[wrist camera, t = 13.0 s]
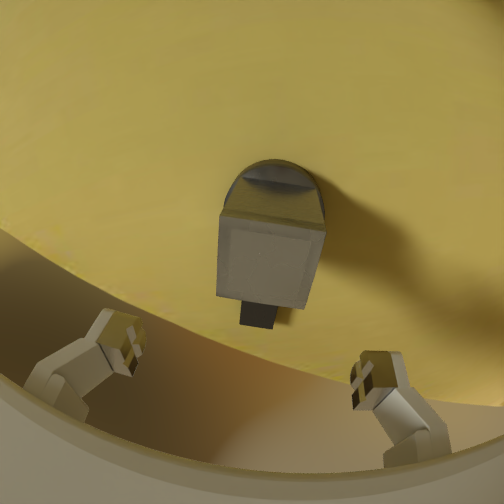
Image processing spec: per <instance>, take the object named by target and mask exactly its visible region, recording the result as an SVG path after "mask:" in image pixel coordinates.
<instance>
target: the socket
mask: <svg viewBox="0 0 504 504" xmlns="http://www.w3.org/2000/svg"><path fill="white" fill-rule="evenodd" d="M326 233H327V232H326V227H325V223H324V219H323V214H322V210H321V206H320V202H319V198H318V194H317V190H316V188H311V187H306V186H300V185H294V184H288V183H281V182H275V181H268V180H261V179H254V178H247V177H240V178H239V180H238V182H237V183H236V185H235V187H234V189H233V191H232V193H231V195H230V197H229V198H228V200H227V202H226V204H225V206H224V208H223V210H222V212H221V214H220V216H219V236H218V258H217V286H216V296H219V297H225V298H231V299H237V300H243V301H249V302H255V303H262V304H268V305H275V306H282V307H289V308H296V309H303V310H304V308H305V305H306V302H307V299H308V296H309V292H310V289H311V286H312V282H313V279H314V276H315V272H316V269H317V265H318V262H319V258H320V255H321V251H322V248H323V244H324V240H325V237H326Z"/></svg>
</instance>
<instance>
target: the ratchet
mask: <svg viewBox="0 0 504 504" xmlns="http://www.w3.org/2000/svg"><path fill="white" fill-rule="evenodd" d="M240 177H247V178H254V179H261V180H268V181H275V182H281V183H288V184H294V185H300V186H306V187H311V188H316V190H317V194H318V198H319V202H320V206H321V210H322V214H323V219H324V217H325V211H324V204H323V201H322V197H321V193H320V190H319V187H318V185H317V183H316V182H315V180H314V179H313V177H312V176H311V175H310V174H309V173H308V172H307V171H306V170H305V169H303V168H302V167H300V166H298V165H296V164H294V163H292V162H289V161H285V160H278V159H269V160H263V161H260V162H256V163H254V164H252V165H250V166H249V167H247V168H246V169H244V170H243V171H242V172H241V173H240V174H239V175H238V176H237V178H236V179H235V181H234V182H233V184H232V186H231V188H230V189H229V191H228V193H227V195H226V198H225V202H224V206H225V204H226V202H227V200H228V198H229V197H230V195H231V193H232V191H233V189H234V187H235V185H236V183H237V182H238V180H239V178H240ZM277 307H278V306H275V305H268V304H262V303H255V302H249V301H243V300H242V304H241V313H240V323H239V324H240V325H246V326H253V327H259V328H266V329H273V325H274V321H275V316H276V312H277Z"/></svg>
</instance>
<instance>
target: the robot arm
mask: <svg viewBox="0 0 504 504" xmlns="http://www.w3.org/2000/svg"><path fill="white" fill-rule="evenodd" d="M142 324H143V323H142V319H141V318H139V317H136V316H132V315H128V314H125V313H121V312H118V311H115V310H111V309H108V308H105V309H103V310H102V311H101V313H100V314H99V316H98V317H97V319H96V321H95V322H94V324H93V325H92V327H91V328H90V330H89V332H88V333H87V335H86V337H85V338H80V339H78V340H77V341H75V342H73V343H71V344H70V345H68V346H66V347H64V348H62V349H61V350H59V351H57V352H56V353H54V354H52V355H50V356H48V357H47V358H45V359H44V360H41V361H40V362H38V363H37V364H36V366H35V368H34V369H33V371H32V373H31V374H30V376H29V378H28V380H27V381H26V383H25V385H24V387H23V389H22V388H21V387H19V386H18V385H16V384H15V383H13V382H12V381H10V380H9V379H8V378H6V377H5V376H3V375H2V374H1V373H0V504H504V435H502V436H499V437H497V438H494V439H492V440H489V441H487V442H484V443H482V444H479V445H476V446H474V447H471V448H468V449H465V450H462V451H458V452H455V453H452V451H451V445H450V440H449V434H448V429H447V425H446V423H445V422H444V421H443V420H442V419H441V418H440V417H439V416H438V414H437V413H436V412H435V411H434V410H433V409H432V408H431V406H430V405H429V404H428V403H427V402H426V401H425V400H424V399H423V397H422V396H421V395H420V394H419V393H418V392H417V391H416V390H415V388H414V387H410V384H409V380H408V376H407V372H406V368H405V364H404V360H403V356H402V354H401V352H398V351H369V350H365V351H363V352H362V353H361V355H360V360H359V361H357V362H356V363H355V364H354V366H353V367H352V370H351V374H350V383H351V386H352V387H353V389H354V390H355V391H354V393H353V394H352V404H353V410H373V413H374V414H375V416H376V418H377V419H378V421H379V422H380V424H381V425H382V427H383V428H384V430H385V432H386V433H387V435H388V436H389V438H390V439H391V441H392V442H393V444H394V447H392V448H390V449H389V450H387V451H386V452H385V453H384V454H383V461H384V468H383V469H375V470H366V471H356V472H342V473H281V472H266V471H257V470H247V469H240V468H233V467H226V466H220V465H215V464H209V463H204V462H199V461H194V460H190V459H186V458H182V457H178V456H174V455H170V454H166V453H163V452H160V451H156V450H153V449H150V448H147V447H143V446H141V445H138V444H135V443H132V442H129V441H126V440H123V439H121V438H118V437H116V436H113V435H111V434H108V433H106V432H103V431H101V430H98V429H96V428H94V427H92V426H89V425H87V424H85V423H84V421H85V418H86V416H87V413H88V411H89V408H88V406H87V405H86V404H85V403H84V402H83V400H82V399H81V398H82V396H84V395H85V394H87V393H88V392H89V391H91V390H92V389H93V388H94V387H96V386H97V385H98V384H99V383H101V382H102V381H103V380H104V379H106V378H107V377H108V376H109V375H111V374H112V373H113V371H114V372H117V373H120V374H123V375H127V376H130V377H132V376H133V375H134V372H135V370H136V368H137V365H138V361H137V357H139V356H140V355H142V354H143V351H144V349H145V345H146V334H145V331H144V330H143V329H142V328H141V327H142Z"/></svg>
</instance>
